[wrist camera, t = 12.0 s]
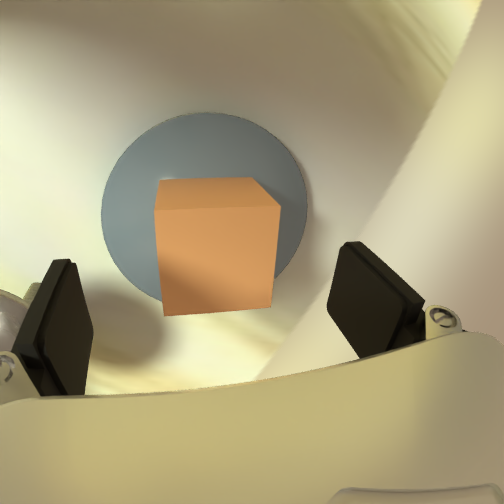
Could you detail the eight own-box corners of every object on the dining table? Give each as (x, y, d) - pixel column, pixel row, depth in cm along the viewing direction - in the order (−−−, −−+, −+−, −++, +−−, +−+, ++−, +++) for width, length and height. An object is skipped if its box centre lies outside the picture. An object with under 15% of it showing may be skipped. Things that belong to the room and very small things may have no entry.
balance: (-68, 245, 14) (-147, 336, 4) (80, 232, 17) (11, 371, 7) (31, 434, 25) (21, 515, 15) (142, 441, 28) (150, 533, 18)
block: (159, 179, 16) (153, 210, 11) (252, 177, 17) (280, 206, 13) (164, 263, 18) (164, 316, 14) (247, 258, 19) (270, 306, 15)
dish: (99, 117, 14) (94, 118, 13) (309, 118, 17) (317, 120, 16) (118, 302, 20) (116, 312, 19) (288, 290, 23) (294, 300, 22)
